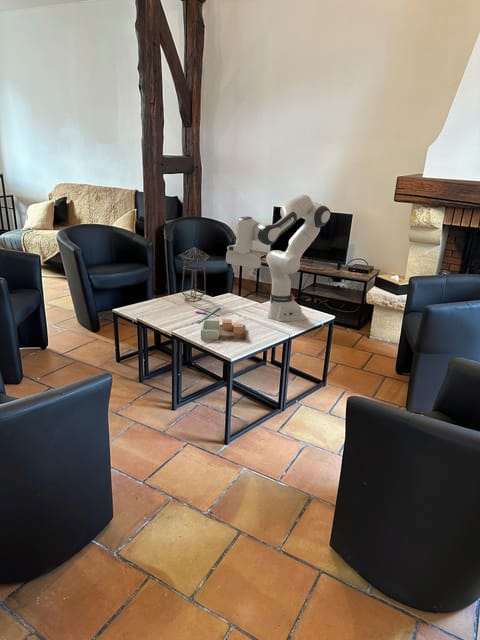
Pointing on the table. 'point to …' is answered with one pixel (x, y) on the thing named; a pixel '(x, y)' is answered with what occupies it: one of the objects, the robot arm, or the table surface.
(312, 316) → the table surface
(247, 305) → the table surface
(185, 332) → the table surface
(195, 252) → the geometric lantern
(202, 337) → the tray
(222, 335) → the brown wooden board
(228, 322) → the light brown wooden block
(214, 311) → the squeegee
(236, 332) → the tile
